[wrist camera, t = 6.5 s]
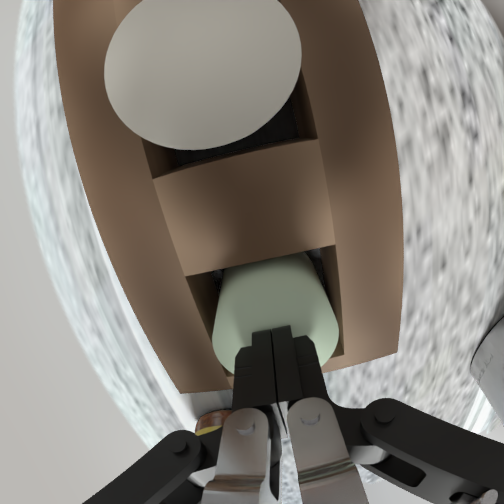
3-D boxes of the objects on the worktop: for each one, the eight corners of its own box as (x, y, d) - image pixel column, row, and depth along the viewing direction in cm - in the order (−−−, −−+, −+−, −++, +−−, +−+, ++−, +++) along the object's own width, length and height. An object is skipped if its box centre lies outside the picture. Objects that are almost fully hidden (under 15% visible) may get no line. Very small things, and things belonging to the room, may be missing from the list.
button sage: (308, 229, 14) (334, 275, 10) (320, 311, 16) (341, 370, 12) (211, 251, 14) (194, 304, 10) (236, 328, 16) (232, 391, 12)
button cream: (265, 20, 9) (272, -38, 4) (293, 128, 11) (322, 125, 6) (148, 52, 9) (94, 17, 5) (174, 157, 11) (127, 174, 7)
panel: (273, -97, 6) (277, -132, 2) (373, 311, 17) (396, 352, 13) (87, -45, 7) (59, -68, 3) (190, 347, 18) (180, 393, 14)
